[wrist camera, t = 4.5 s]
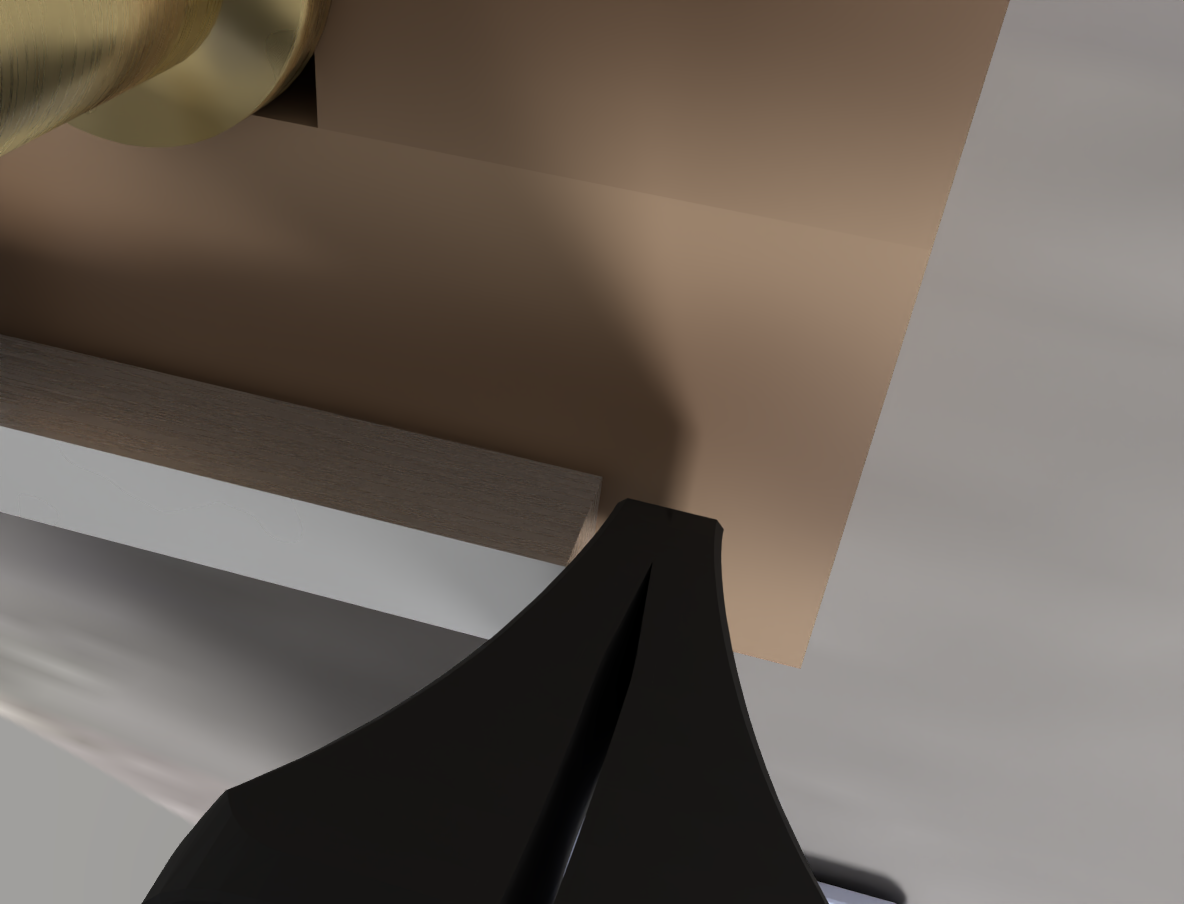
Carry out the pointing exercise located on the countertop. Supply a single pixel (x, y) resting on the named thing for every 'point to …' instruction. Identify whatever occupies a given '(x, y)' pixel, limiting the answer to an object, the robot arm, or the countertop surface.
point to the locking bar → (285, 490)
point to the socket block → (550, 247)
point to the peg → (148, 65)
